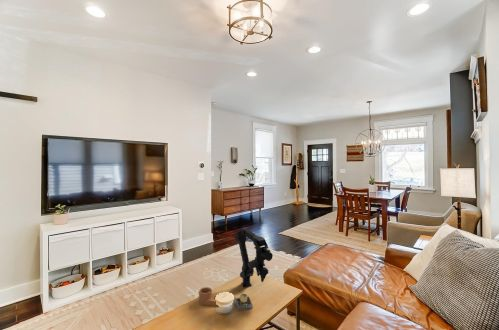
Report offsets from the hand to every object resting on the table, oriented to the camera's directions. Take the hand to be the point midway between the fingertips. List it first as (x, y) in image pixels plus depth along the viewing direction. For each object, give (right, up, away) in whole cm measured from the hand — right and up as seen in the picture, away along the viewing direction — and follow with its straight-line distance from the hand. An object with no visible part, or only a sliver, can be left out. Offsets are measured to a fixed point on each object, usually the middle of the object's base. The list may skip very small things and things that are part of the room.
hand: (260, 278), depth 160 cm
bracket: (-32, -12, -8) cm, 35 cm away
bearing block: (-11, -11, -12) cm, 20 cm away
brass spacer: (-11, -11, -12) cm, 20 cm away
